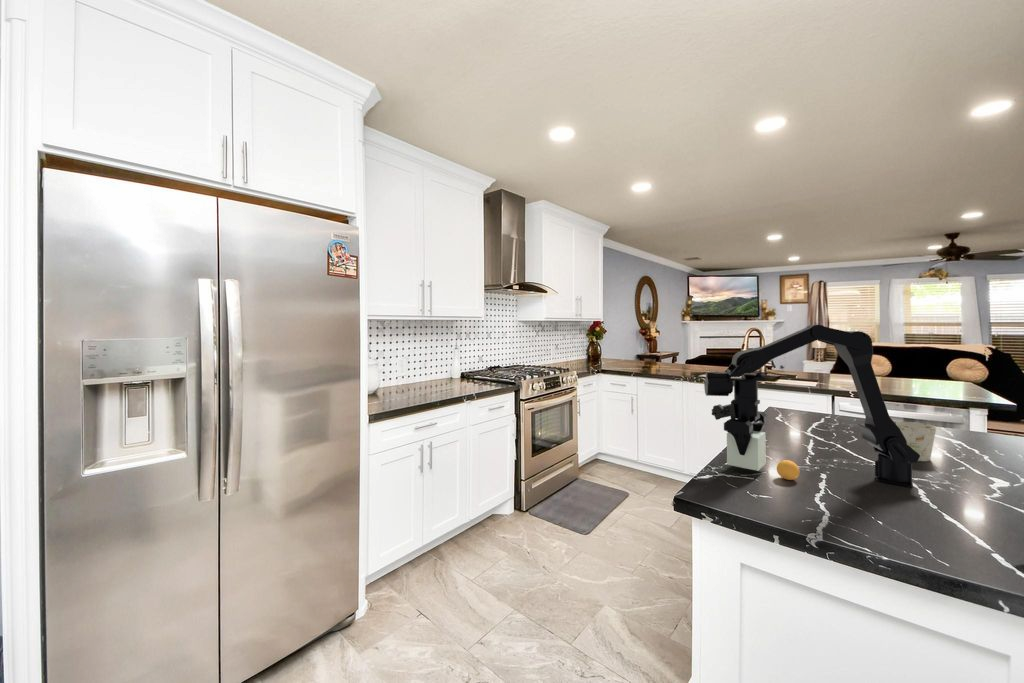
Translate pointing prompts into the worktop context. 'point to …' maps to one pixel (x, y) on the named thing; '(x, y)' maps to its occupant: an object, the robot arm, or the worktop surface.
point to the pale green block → (748, 452)
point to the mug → (919, 438)
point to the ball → (788, 470)
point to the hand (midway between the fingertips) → (746, 451)
